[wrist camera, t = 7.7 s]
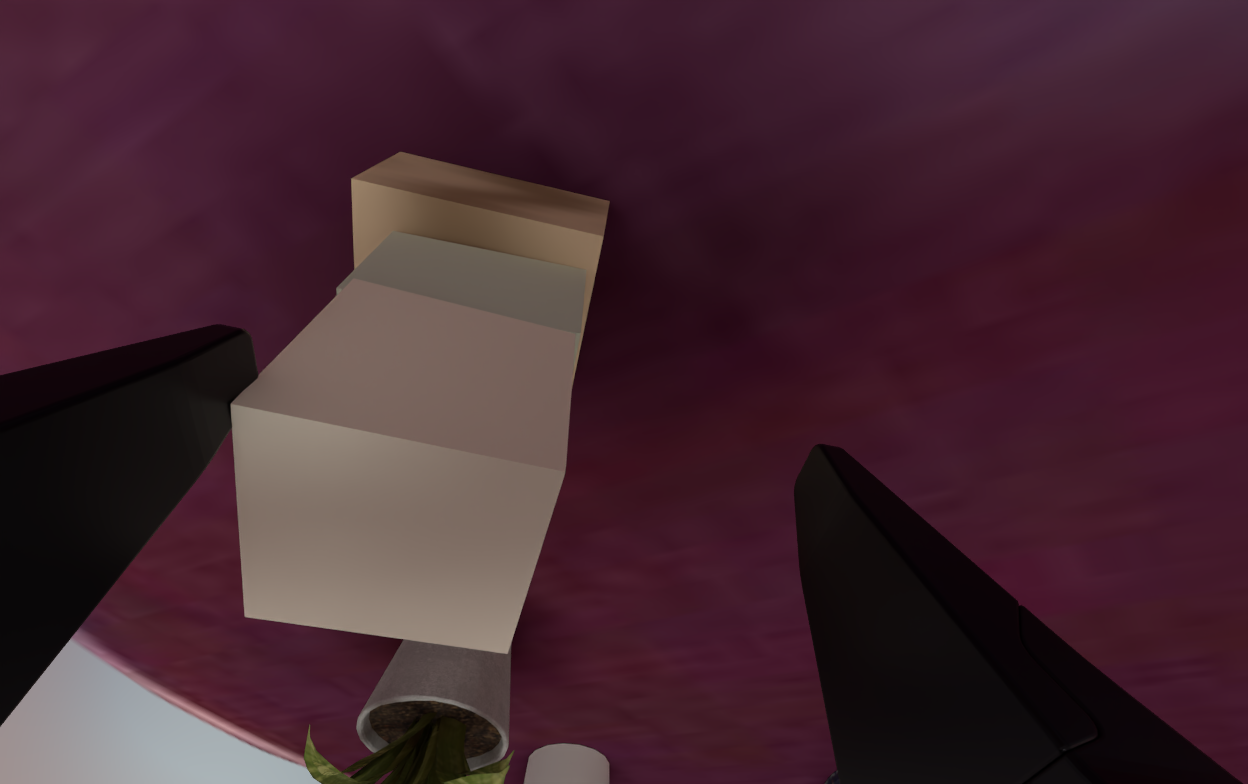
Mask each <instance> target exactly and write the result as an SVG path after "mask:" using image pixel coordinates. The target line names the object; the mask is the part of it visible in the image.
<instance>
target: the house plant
mask: <svg viewBox="0 0 1248 784" xmlns="http://www.w3.org/2000/svg"><path fill="white" fill-rule="evenodd" d="M510 670H511V645H510V648H509V651H508V654H505V653H498V652H491V651H483V650H476V649H469V648H462V647H455V646H448V645H441V644H434V643H427V642H420V641H412V640H405V639H404V640H403V642H402V643H401V645H400V647H399V649H398V650H397V652H396V654H395V655H394V657H393V659H392V660H391V662H390V664H389V666H388V667H387V669H386V671H385V672H384V674H383V676H382V678H381V679H380V681H379V683H378V684H377V686H376V688H375V689H374V691H373V693H372V695H371V696H370V698H369V700H368V701H367V703H366V705H365V707H364V708H363V710H362V712H361V713H360V715H359V717H358V721H357V732H358V734H359V737H360V740H361V741H362V742H363V743H364V744H365V745H366V746H367V748H368V749H369V750H371V751H372V752H374V753H373V754H371V755H369V756H367V757H365V758H363V759H361V760H359V761H358V762H356V763H355V764H353V765H351V766H350V767H348V768H347V769H345V770H344V771H342V772H340V771H338V770H337V769H336V768H335V767H333V766H332V765H331V764H330V763H329V762H328V761H327V760H326V759H325V758H323V757H322V756H321V755H320V754H319V753H318V752H317V751H316V749H315V747H314V745H313V743H312V740H311V738H310V726H309V731H308V736H307V742H306V748H305V754H304V760H305V763H306V766H307V769H308V771H309V772H310V774H311V775H312V777H313V778H314V779H316V780H317V781H319V782H320V783H321V784H374V783H375V782H377V781H378V780H379V779H380V778H381V777H382V776H383V775H384V774H386V773H388V772H390V771H392V770H393V772H392V773H391V774H390V775H389V776H388V777H387V778H386V779H385V780H384V781H383V782H382V783H381V784H504V779H505V775H506V773H507V771H508V769H509V767H510V765H509V766H508V764H509V761H510V759H511V757H512V755H513V752H514V751H513V752H512V753H511V754H510V755H509V756H508V758H507V759H504V760H501V761H499V760H500V759H502V758H503V757H504V755H505V753H506V751H507V749H508V746H509V708H510ZM369 762H370V763H369ZM365 765H366V766H365ZM363 766H365V767H363ZM507 766H508V767H507ZM361 767H363V768H362V769H361V770H359V771H358V772H357V773H355V774H354V775H353V776H351V777H350V778H349V777H348V776H346V775H344V774H343V773H345V772H351V771H355V770H357V769H359V768H361ZM466 775H470V776H466Z"/></svg>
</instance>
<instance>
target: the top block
mask: <svg viewBox="0 0 1248 784" xmlns="http://www.w3.org/2000/svg"><path fill="white" fill-rule="evenodd" d="M586 271H587V270H585V269H580V268H575V267H571V266H566V265H561V264H556V263H551V262H546V261H541V260H536V259H531V258H526V257H521V256H516V255H511V254H506V253H501V252H496V251H491V250H486V249H481V248H476V247H471V246H466V245H461V244H457V243H452V242H447V241H442V240H437V239H432V238H427V237H422V236H417V235H412V234H407V233H402V232H397V231H392V232H391V233H390V234H389V235H388V236H387V237H386V238H385V239H384V240H383V241H382V243H381V244H380V245H379V246H378V247H377V248H376V249H375V250H374V251H373V252H372V253H371V254H370V255H369V256H368V257H367V258H366V259H365V260H364V261H363V262H362V263H361V264H360V265H359V266H358V267H357V268H356V269H355V270H354V271H353V272H352V273H351V274H350V275H349V276H348V277H347V278H346V279H345V280H344V281H343V282H342V283H341V284H340V285H339V286H338V287H337V288H336V289H337V295H338V294H339V293H340V292H341V291H342V290H343V289H344V288H345V287H346V286H347V285H348V284H349V283H350V282H351V280H352V279H353V278H355V279H359V280H363V281H367V282H371V283H375V284H379V285H383V286H387V287H391V288H395V289H399V290H403V291H407V292H411V293H415V294H419V295H423V296H427V297H431V298H435V299H439V300H443V301H447V302H451V303H455V304H459V305H463V306H467V307H471V308H475V309H479V310H483V311H487V312H491V313H495V314H499V315H503V316H507V317H511V318H515V319H519V320H523V321H527V322H531V323H535V324H539V325H543V326H547V327H551V328H555V329H558V330H562V331H566V332H570V333H574V334H576V335H575V349H574V363H573V369H574V364H575V359H576V354H577V350H578V345H579V340H580V335H581V325H582V314H583V304H584V293H585V282H586Z"/></svg>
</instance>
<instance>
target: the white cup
mask: <svg viewBox="0 0 1248 784" xmlns="http://www.w3.org/2000/svg"><path fill="white" fill-rule="evenodd" d="M524 784H609V762H608V761H607V759H606V757H605V756H604V755H602V754H601V753H599V752H598V751H596V750H595V749H592V748H588V747H585V746H582V745H576V744H565V743H562V744H554V745H547V746H544V747H542V748H539V749H537V750H535V751H534V752H533V753H532V754H531V755H530V756H529V760H528V765H527V770H526V775H525V780H524Z"/></svg>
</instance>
